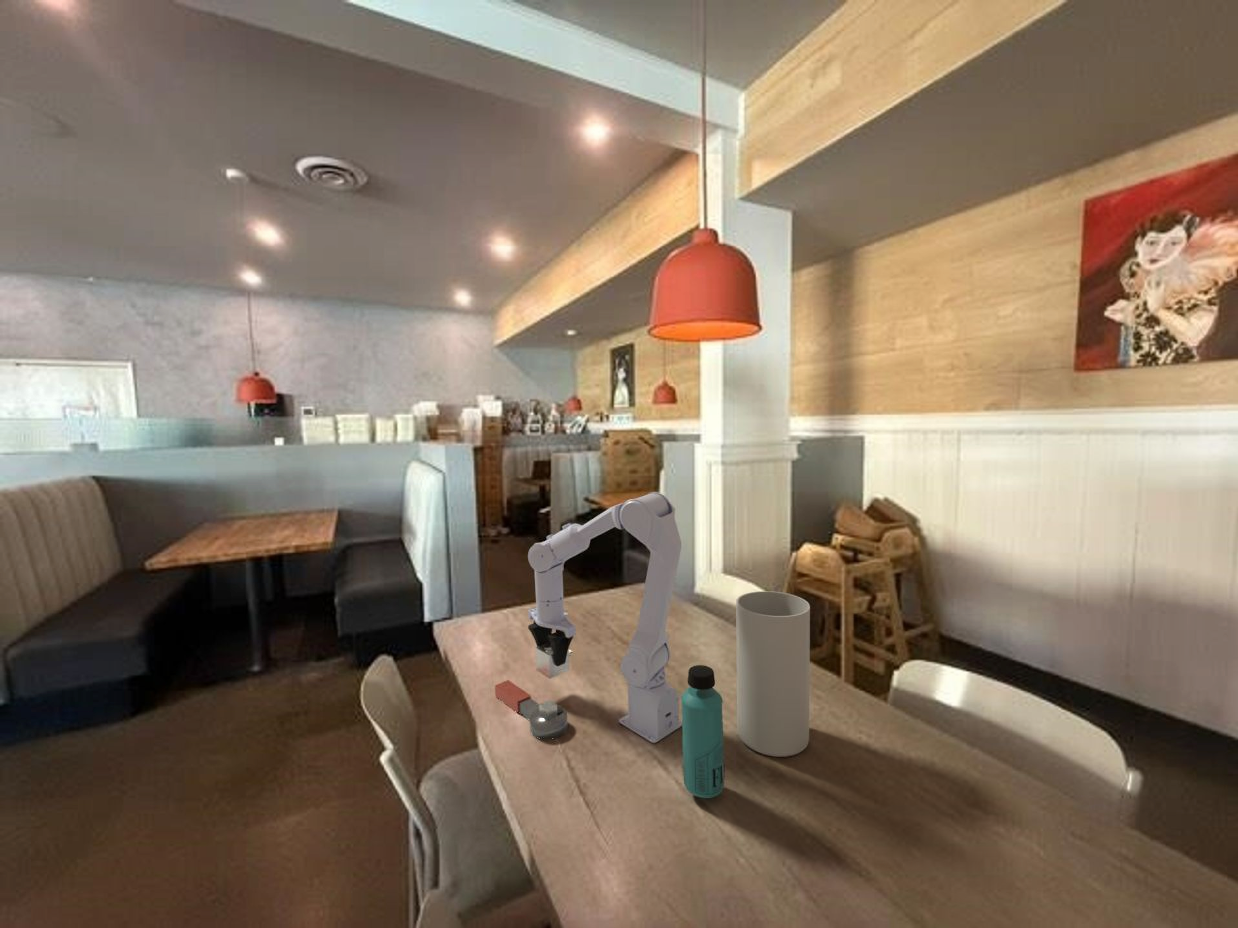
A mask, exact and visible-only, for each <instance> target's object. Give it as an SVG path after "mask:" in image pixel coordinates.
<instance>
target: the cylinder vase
mask: <svg viewBox="0 0 1238 928" xmlns="http://www.w3.org/2000/svg"><path fill="white" fill-rule="evenodd" d="M735 604H736V605H735V606H736V607H735V608H736V611H735V613H736V616H735V619H736V620H735V621H736V624H735V625H736V626H735V627H736V630H735V632H736V634H735V635H736V732H737V734H738V736H739V738H740V740H741V741H742V742H743V743H744V744H745V745H746V746H747V747H748V748H750V749H751V750H753V751H755V752H757V753H759V754H762V755H766V756H770V757H776V758H777V757H778V758H783V757H791V756H795V755H798V754H800V753H801V752H803V751H804V750H805V749H806V748H807V746H808V745H809V742H810V670H811V669H810V668H811V667H810V665H811V664H810V663H811V662H810V660H811V659H810V654H811V653H810V650H811V649H810V648H811V647H810V646H811V645H810V644H811V640H810V639H811V638H810V637H811V631H810V630H811V622H810V621H811V606H810V603H809V602H808V601H807V600H805V599H804V598H802V597H799V596H798V595H795V594H791V593H786V592H780V591H772V590H770V591H769V590H762V591H760V590H759V591H751V592H747V593H744V594H741V595H740V596H737V598H736V601H735Z"/></svg>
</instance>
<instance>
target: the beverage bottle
mask: <svg viewBox="0 0 1238 928" xmlns="http://www.w3.org/2000/svg"><path fill="white" fill-rule="evenodd" d="M687 672H688V674H687V684H688V686H690V687H688V688H687V689H686V690H684V692H683V693H681V694H682V695H681V698H680V699H681V723H682V726H681V727H682V736H681V739H682V741H681V744H682V746H681V748H682V750H681V753H682V766H681V767H682V773H683V774H682V777H683V778H682V781H683V784H684V786H685V788H686V790H687V791H688V792H689V793H690V794H692V796H695V797H698V798H702V799H711V798H715V797H716V796H717V797H718V796H719V795H720V794H721V793H722V791H723V789H724V787H725V777H726V776H725V775H726V774H725V773H726V771H725V770H726V769H725V763H726V762H725V760H724V754H725V751H724V750H725V748H724V720H723V697H722V695H721V694H720V693H719V692H718V691H717V689H715V688H714V687H715V685H716V680H715V671H714V670H713V668H711V667H710V666H707V665H703V664H696V665H692V666H691V667H690V668H689V669H688V671H687Z"/></svg>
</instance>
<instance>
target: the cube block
mask: <svg viewBox="0 0 1238 928" xmlns="http://www.w3.org/2000/svg"><path fill="white" fill-rule="evenodd" d="M569 650H570V647H569V648H568V652H567V657H566V662H565V664H562V665H560V666H556V665H555V662H554V655H553V649H552V646H551V643H550V642H549V643H546V644H544V645H541V646H538V647H537V646H536V647H535V668H536V672H539V673H540V674H541V675H543V676H545V677H547V678H548V679H549V680H551V679H553V678H556V677H557V676H559V675H562V674H564V673H567V672H569V671H570V655H569V654H570V653H569Z"/></svg>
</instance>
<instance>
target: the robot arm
mask: <svg viewBox="0 0 1238 928" xmlns="http://www.w3.org/2000/svg"><path fill="white" fill-rule="evenodd" d="M675 515H676V508H675V506H673V504H672V503H671V501H669V499H668V498H667V496H665V495H664V494H662V493H660V492H657V491H653V492H649V493H647V494H646V495H643V496H640V497H636V498H632V499H627V500H626V501H625V502H621V503H619V504H615V505H613V506H611V507H609V508H608V509H606V510H604V511H603V512H602V513H600V514H598V515H597V516H595V517H594V518H593V519H590V520H589V521H587V522H586V523H584V524H583V525H581V524H579V523H570V522H569V523H567V524H564V525H563V526H562V527H561V528H562V530H560V531H558V532H556V533H555V534H553V533H552V534H549V535H547V536H546V540H545V541H542V542H535V543H534V544H533V545H532V546H531V547H530V548H529V550H528V554H527V559H528V563H529V565H530V567H531V568H532V570H534V583H535V585H534V586H535V587H534V588H535V606H536V607H535V608H531V609H528V610H527V619H528V620H530V621H532V620H533V623H531V624H528V630H529V631H530V633H531V635H532V637H533V639H534V641H535V644H536V647H538V646H541V645H544V644H546V643H549V642H550V643H551V646H552V649H553V655H554V662H555V665H556V666H560V665H562V664H565V662H566V657H567V652H568V648H569V649H570V645H571V642H572V640H573V639H574V637H575V636H576V634H577V632H576V625H574V624H573V623H572V622H571V621H570V620H569V619H568V618H569V613H568V612H565V606H564V605H565V602H564V601H565V598H564V580H563V579H564V577H563V575H564V574H563V571H564V570H565V569H564V565H565V562H566V561H568V560H569V559H571V558H573V557H575V556H577V555H578V554H581V553H583V552H584V551H586V550H587V549H588V548H589V547H590V543H591V540H592V539H594V538H596V537H598V536H600V535H602V534H604V533H606V532H608V531H609V530H611V529H613V528H616V529H618V530H624V529H625V531H627V532H628V533H629V534H631V536H633V537H634V538H636V539H637V540H638V541H639V542H640V543H642V544H643V545H644V546H645V547H646V549H648V550H649V552H650V555H649V560H648V561H649V562H648V567H647V571H646V577H645V581H644V582H645V583H644V588H643V594H642V599H641V605H640V610H639V614H638V615H639V616H638V620H637V621H638V622H637V627H636V631H635V633H634V635H633V637H632V638H631V640H630V643H629V645H628V650H627V652H626V654H625V655H624V656H623V658H622V659H621V661H620V672H621V675H622V677H623V678H624V680H625V681H626V682H627V705H628V706H627V707H628V709H627V710H628V714H626V715H625V716H623V717H621V718H619V719H618V723H620V724H621V725H623V726H625V728H628V729H630V730H631V731H632V732H634V733H636V734H638V736H641V737H642V738H644V739H645V740H647V741H649V742H650V743H651V744H656V743H657V742H659V741H661V740H662V739H664V738H666V737H667V736H668V735H670V734H672V733H673V732H675V730H677V729H679V728H681V727H682V721H680V709H679V708H680V701H679V700H680V699H679V694H678V692H677V690H676V688H675V689H674V687H672V686H671V685H670V683H668V681H667V678H666V671H665V670H666V668H665V667H666V665H667V664H668V663H669V661H670V659H671V650H670V646H669V638H670V634H668V633H667V632H666V628H667V624H668V620H669V619H668V618H669V613H670V608H671V603H672V599H673V598H672V597H673V593H674V587H675V582H676V577H677V572H678V567H679V562H680V556H681V552H682V551H681V550H682V540H681V536H680V533H679V530H678V525H677V521H676V519H675ZM553 630H555V632H553ZM552 632H553V633H552Z"/></svg>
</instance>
